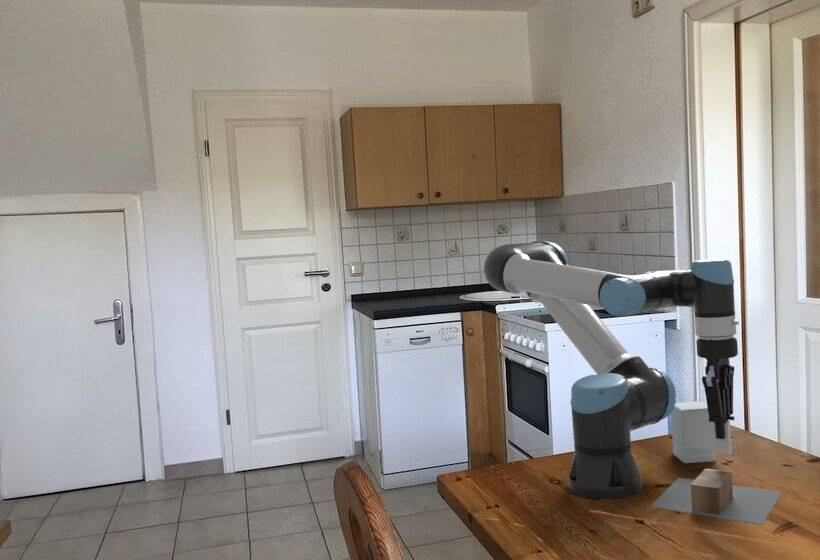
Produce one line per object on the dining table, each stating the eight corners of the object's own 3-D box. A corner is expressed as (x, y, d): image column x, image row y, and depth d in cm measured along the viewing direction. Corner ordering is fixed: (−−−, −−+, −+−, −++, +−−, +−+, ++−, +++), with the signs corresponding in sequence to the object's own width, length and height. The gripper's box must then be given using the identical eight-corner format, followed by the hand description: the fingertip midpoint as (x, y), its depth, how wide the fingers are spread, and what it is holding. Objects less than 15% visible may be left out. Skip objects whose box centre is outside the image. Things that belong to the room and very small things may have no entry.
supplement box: (716, 462, 163) (713, 407, 162) (683, 465, 163) (680, 410, 162) (703, 453, 170) (701, 400, 169) (672, 455, 170) (669, 402, 170)
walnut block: (706, 493, 144) (692, 510, 136) (705, 468, 144) (690, 484, 136) (733, 496, 141) (719, 514, 133) (731, 471, 141) (718, 488, 133)
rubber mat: (650, 508, 140) (650, 506, 140) (678, 479, 154) (678, 477, 154) (762, 527, 128) (762, 524, 128) (782, 493, 142) (781, 491, 142)
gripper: (725, 342, 136) (733, 465, 137) (745, 332, 146) (752, 446, 147) (685, 341, 141) (693, 459, 142) (707, 331, 151) (714, 442, 152)
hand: (723, 453), depth 144 cm, fingers closed
